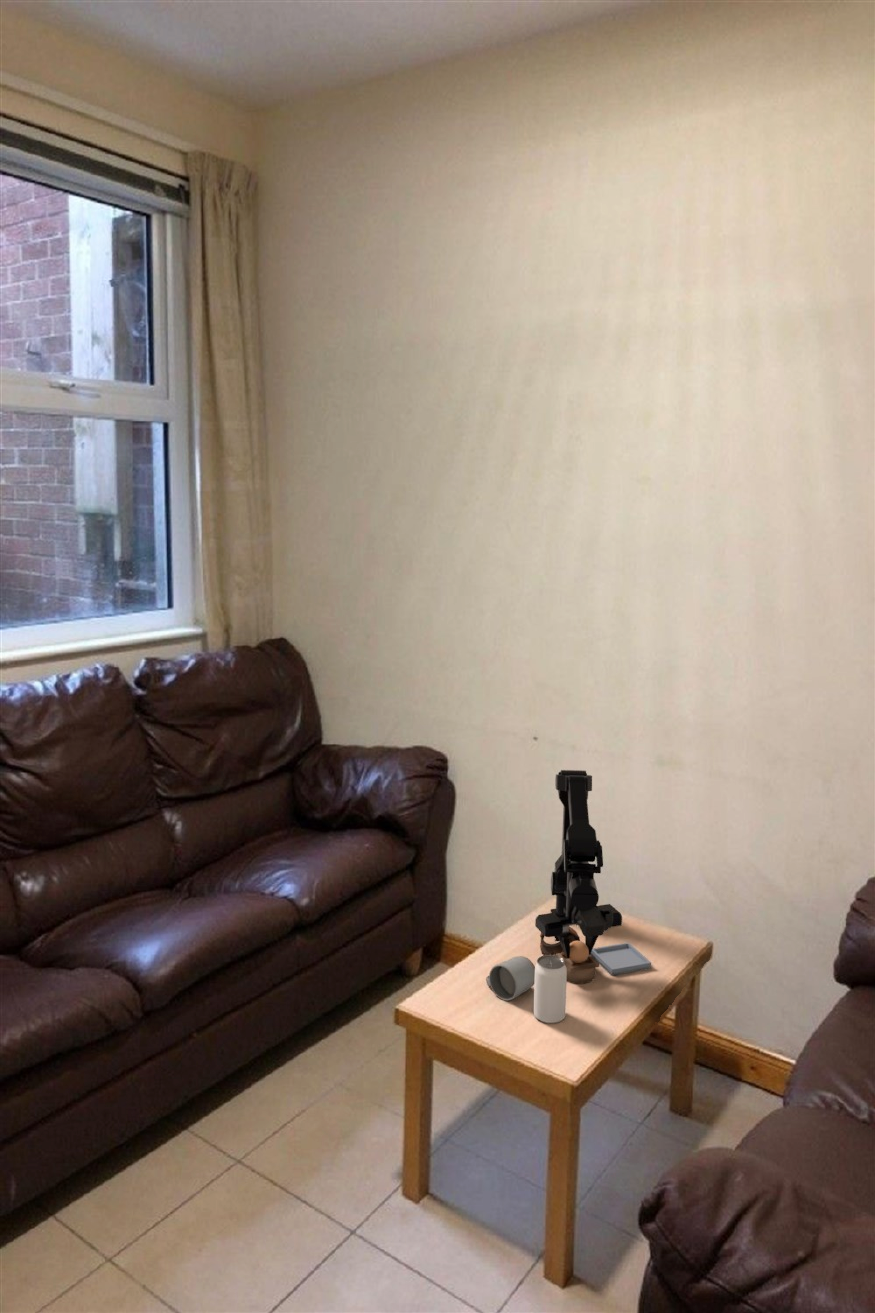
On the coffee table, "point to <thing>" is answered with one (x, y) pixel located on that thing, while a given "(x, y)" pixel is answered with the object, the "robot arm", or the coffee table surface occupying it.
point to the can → (550, 989)
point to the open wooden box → (580, 969)
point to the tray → (620, 959)
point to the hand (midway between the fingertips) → (577, 956)
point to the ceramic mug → (511, 977)
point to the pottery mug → (556, 947)
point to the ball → (578, 951)
